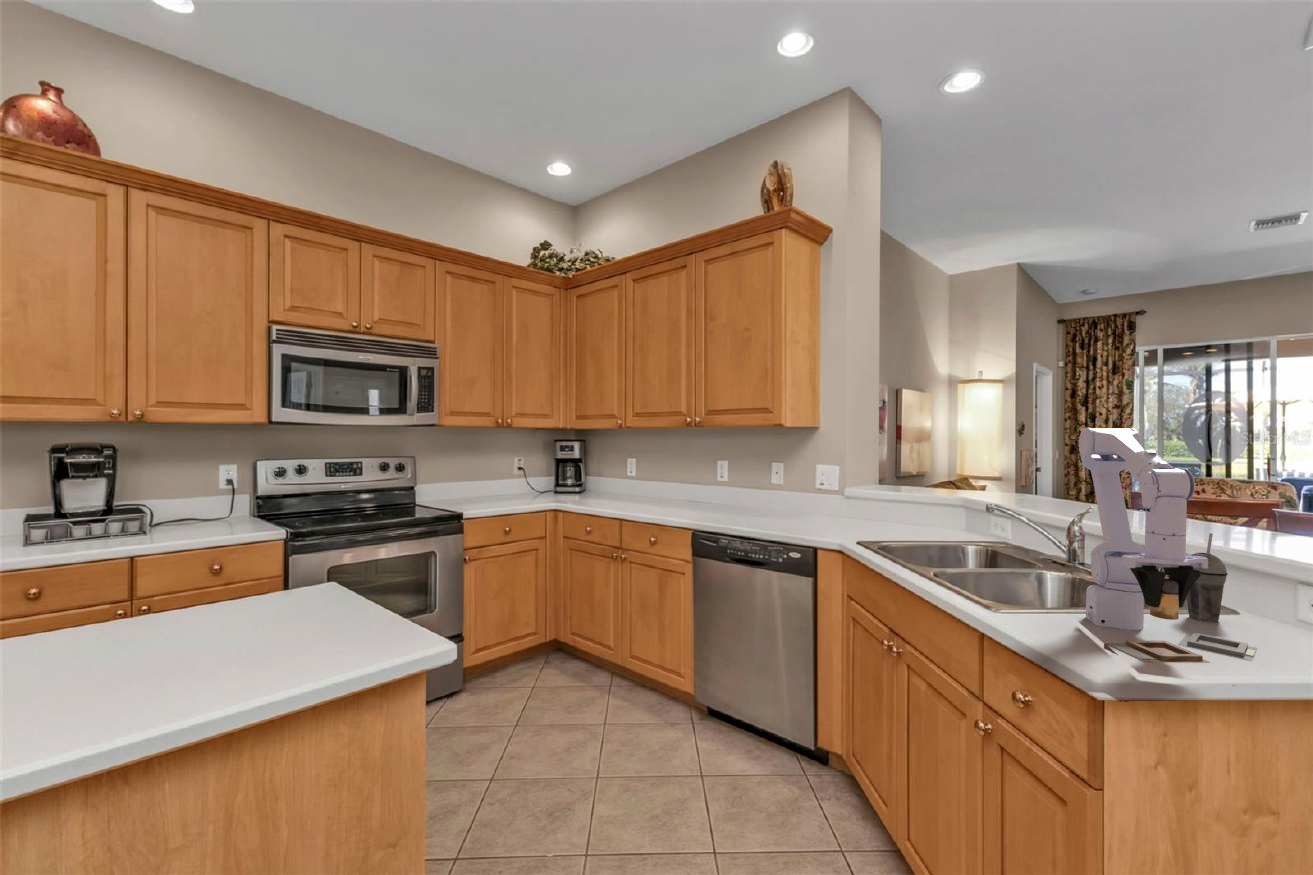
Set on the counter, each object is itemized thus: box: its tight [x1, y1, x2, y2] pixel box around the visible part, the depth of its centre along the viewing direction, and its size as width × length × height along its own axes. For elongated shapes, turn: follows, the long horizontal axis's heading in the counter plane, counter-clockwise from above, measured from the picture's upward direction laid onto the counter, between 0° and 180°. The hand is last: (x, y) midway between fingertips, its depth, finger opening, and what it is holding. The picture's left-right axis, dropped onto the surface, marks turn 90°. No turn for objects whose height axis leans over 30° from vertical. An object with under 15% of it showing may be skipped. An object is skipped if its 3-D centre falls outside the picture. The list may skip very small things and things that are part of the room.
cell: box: [1149, 575, 1180, 621], centre depth 107 cm, size 4×4×8 cm
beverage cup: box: [1186, 532, 1228, 623], centre depth 126 cm, size 7×7×20 cm
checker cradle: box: [1177, 632, 1258, 662], centre depth 110 cm, size 10×10×2 cm
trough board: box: [1103, 640, 1211, 663], centre depth 107 cm, size 12×9×2 cm
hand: (1163, 606), depth 107 cm, fingers closed on cell, 4 cm apart
